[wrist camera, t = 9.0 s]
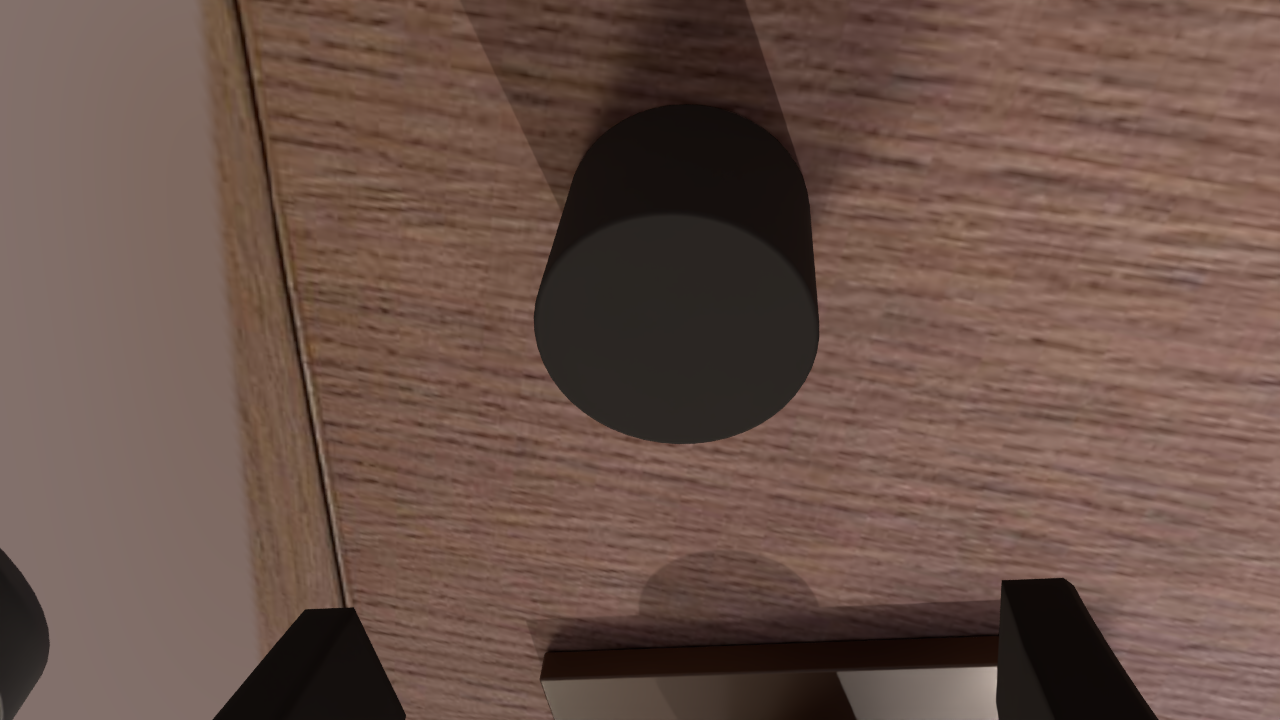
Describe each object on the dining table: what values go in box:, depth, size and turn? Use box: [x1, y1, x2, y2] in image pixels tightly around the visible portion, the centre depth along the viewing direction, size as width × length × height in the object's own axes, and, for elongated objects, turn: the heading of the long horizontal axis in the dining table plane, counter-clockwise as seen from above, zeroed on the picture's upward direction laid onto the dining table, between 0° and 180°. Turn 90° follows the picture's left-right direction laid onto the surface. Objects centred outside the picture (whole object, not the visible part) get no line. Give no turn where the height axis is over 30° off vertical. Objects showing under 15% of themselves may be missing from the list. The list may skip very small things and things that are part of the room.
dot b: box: [534, 104, 819, 444], centre depth 16 cm, size 4×4×4 cm
